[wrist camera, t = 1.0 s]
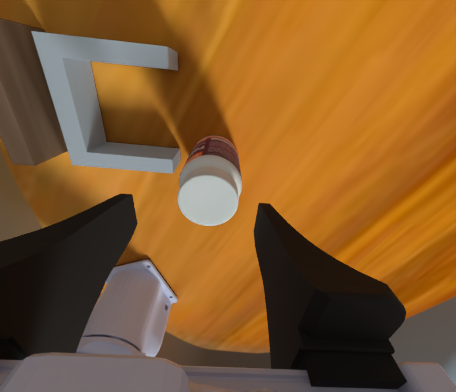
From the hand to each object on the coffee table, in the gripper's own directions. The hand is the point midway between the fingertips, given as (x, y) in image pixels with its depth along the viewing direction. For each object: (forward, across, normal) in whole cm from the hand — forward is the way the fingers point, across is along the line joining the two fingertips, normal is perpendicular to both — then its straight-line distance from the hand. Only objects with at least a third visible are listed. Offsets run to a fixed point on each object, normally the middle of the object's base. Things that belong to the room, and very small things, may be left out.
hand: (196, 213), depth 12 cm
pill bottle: (+10, 0, 0) cm, 10 cm away
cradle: (+10, +7, -4) cm, 13 cm away
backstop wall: (+10, +14, -4) cm, 17 cm away
